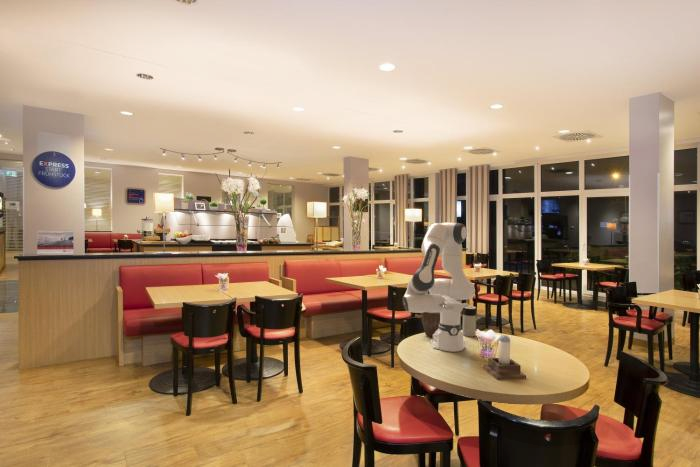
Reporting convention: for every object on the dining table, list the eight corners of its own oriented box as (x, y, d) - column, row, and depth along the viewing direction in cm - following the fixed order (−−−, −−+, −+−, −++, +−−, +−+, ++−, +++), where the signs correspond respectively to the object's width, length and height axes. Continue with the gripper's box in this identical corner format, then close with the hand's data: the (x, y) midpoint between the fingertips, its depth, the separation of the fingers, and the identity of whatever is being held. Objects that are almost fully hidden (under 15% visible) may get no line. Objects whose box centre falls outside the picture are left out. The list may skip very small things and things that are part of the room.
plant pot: (436, 331, 253) (437, 307, 253) (449, 338, 239) (449, 312, 239) (415, 333, 249) (416, 308, 249) (427, 340, 235) (427, 313, 234)
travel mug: (478, 336, 245) (479, 307, 245) (469, 337, 241) (470, 308, 241) (468, 332, 252) (469, 305, 252) (459, 334, 248) (460, 306, 248)
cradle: (482, 368, 190) (483, 356, 190) (510, 367, 192) (510, 356, 192) (497, 379, 176) (497, 367, 176) (526, 378, 178) (526, 366, 178)
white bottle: (496, 368, 186) (497, 333, 186) (506, 367, 187) (506, 333, 187) (501, 372, 181) (502, 337, 181) (511, 371, 182) (512, 336, 182)
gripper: (444, 301, 177) (473, 300, 179) (430, 292, 197) (456, 292, 199) (444, 314, 177) (473, 314, 179) (429, 305, 198) (455, 305, 199)
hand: (464, 303), depth 189 cm, fingers open, 8 cm apart
